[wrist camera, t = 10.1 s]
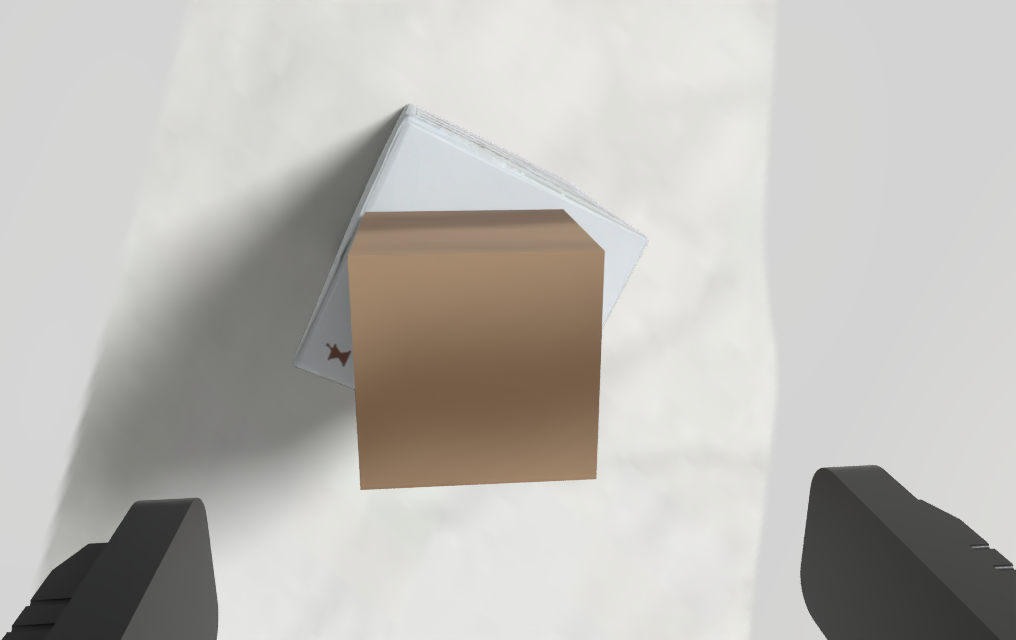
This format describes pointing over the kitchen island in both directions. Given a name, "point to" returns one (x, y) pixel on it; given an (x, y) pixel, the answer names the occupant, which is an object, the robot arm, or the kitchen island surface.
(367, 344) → the walnut cube
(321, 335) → the supplement box
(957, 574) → the robot arm
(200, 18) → the kitchen island surface
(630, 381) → the kitchen island surface
